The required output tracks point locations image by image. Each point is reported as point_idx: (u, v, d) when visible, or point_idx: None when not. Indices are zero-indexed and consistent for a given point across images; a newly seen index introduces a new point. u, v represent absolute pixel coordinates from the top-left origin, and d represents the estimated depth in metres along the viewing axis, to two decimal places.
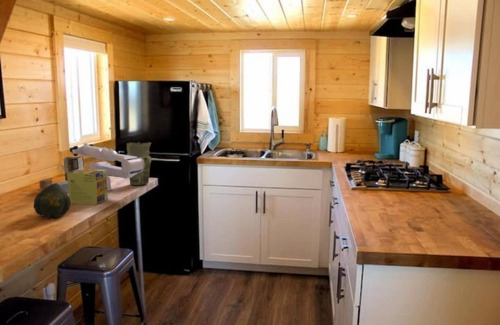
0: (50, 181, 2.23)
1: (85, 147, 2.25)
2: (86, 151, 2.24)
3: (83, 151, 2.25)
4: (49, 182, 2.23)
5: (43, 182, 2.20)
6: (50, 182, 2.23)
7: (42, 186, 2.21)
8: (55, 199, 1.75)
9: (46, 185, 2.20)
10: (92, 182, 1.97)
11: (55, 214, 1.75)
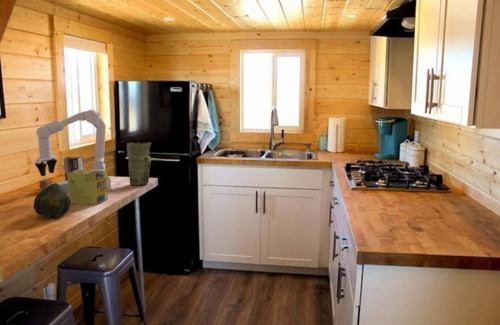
0: (50, 181, 2.23)
1: None
2: (41, 150, 2.13)
3: (42, 155, 2.14)
4: (49, 182, 2.23)
5: (43, 182, 2.20)
6: (50, 182, 2.23)
7: (42, 186, 2.21)
8: (55, 199, 1.75)
9: (46, 185, 2.20)
10: (92, 182, 1.97)
11: (55, 214, 1.75)
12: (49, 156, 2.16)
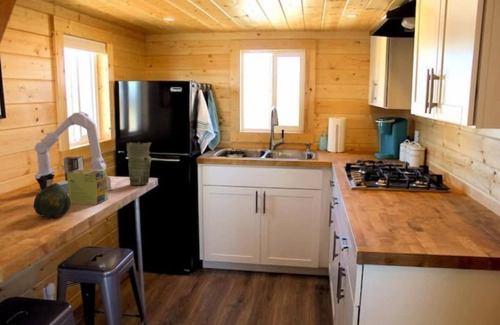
0: (50, 181, 2.23)
1: None
2: (40, 165, 2.18)
3: (41, 170, 2.18)
4: (49, 182, 2.23)
5: None
6: (50, 182, 2.23)
7: None
8: (55, 199, 1.75)
9: (46, 185, 2.20)
10: (92, 182, 1.97)
11: (55, 214, 1.75)
12: (48, 171, 2.20)
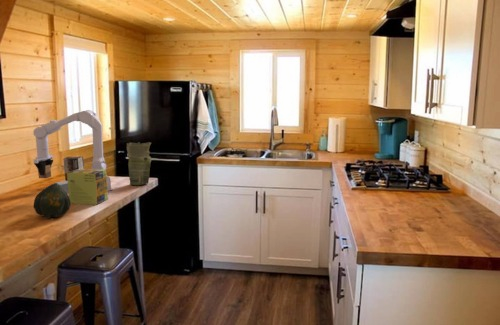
0: (48, 167, 2.22)
1: (37, 154, 2.18)
2: (39, 150, 2.17)
3: (40, 155, 2.17)
4: (48, 168, 2.21)
5: None
6: (48, 168, 2.22)
7: None
8: (55, 199, 1.75)
9: None
10: (92, 182, 1.97)
11: (55, 214, 1.75)
12: (46, 156, 2.19)
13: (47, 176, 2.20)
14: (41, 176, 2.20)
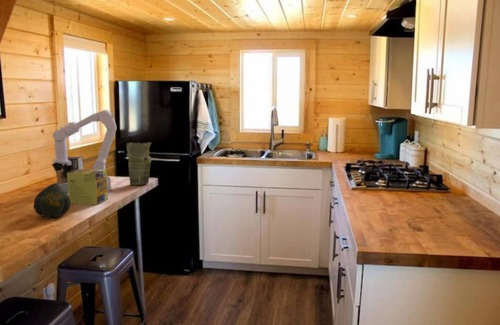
0: None
1: (59, 157, 2.16)
2: (63, 153, 2.17)
3: (64, 158, 2.17)
4: None
5: None
6: None
7: (63, 177, 2.19)
8: (55, 199, 1.75)
9: None
10: (92, 182, 1.97)
11: (55, 214, 1.75)
12: (67, 158, 2.21)
13: None
14: (64, 181, 2.19)
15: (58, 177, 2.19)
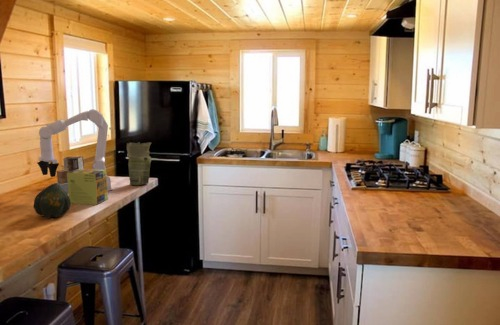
0: None
1: (45, 155, 2.10)
2: (49, 151, 2.10)
3: (50, 156, 2.11)
4: None
5: (65, 172, 2.19)
6: None
7: (64, 177, 2.19)
8: (55, 199, 1.75)
9: None
10: (92, 182, 1.97)
11: (55, 214, 1.75)
12: (53, 156, 2.14)
13: None
14: (64, 181, 2.19)
15: (58, 177, 2.19)
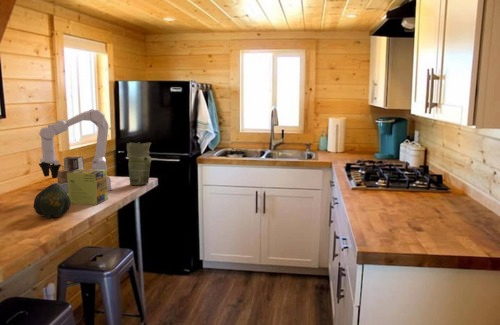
0: None
1: (46, 156, 2.06)
2: (51, 152, 2.07)
3: (52, 157, 2.08)
4: None
5: (65, 172, 2.19)
6: None
7: (64, 177, 2.19)
8: (55, 199, 1.75)
9: None
10: (92, 182, 1.97)
11: (55, 214, 1.75)
12: None
13: None
14: (64, 181, 2.19)
15: (59, 177, 2.19)
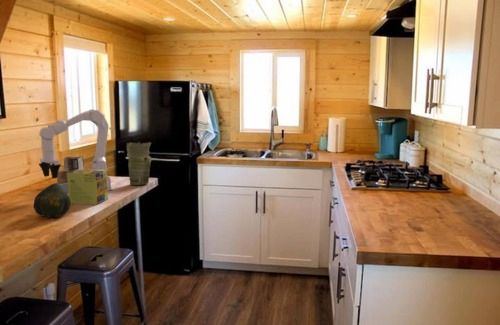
0: None
1: (46, 156, 2.06)
2: (51, 152, 2.07)
3: (52, 157, 2.08)
4: None
5: (65, 172, 2.19)
6: None
7: (64, 177, 2.19)
8: (55, 199, 1.75)
9: None
10: (92, 182, 1.97)
11: (55, 214, 1.75)
12: None
13: None
14: (64, 181, 2.19)
15: (58, 177, 2.19)
